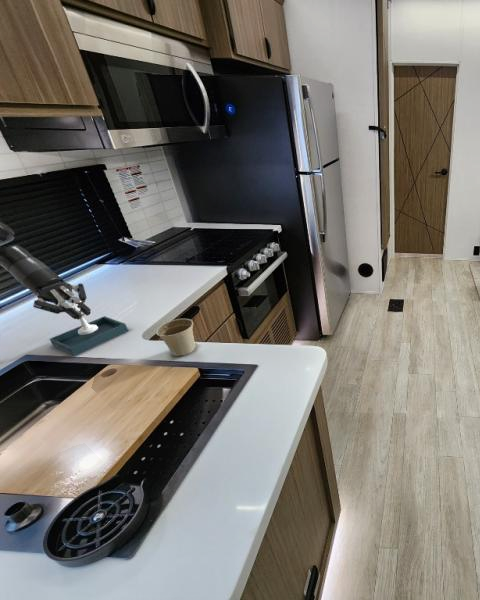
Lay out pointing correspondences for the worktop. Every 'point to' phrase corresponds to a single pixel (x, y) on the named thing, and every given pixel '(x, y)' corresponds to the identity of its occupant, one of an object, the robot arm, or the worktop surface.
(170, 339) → the flower pot
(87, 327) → the chess piece
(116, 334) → the tray
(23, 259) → the robot arm
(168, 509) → the worktop surface
